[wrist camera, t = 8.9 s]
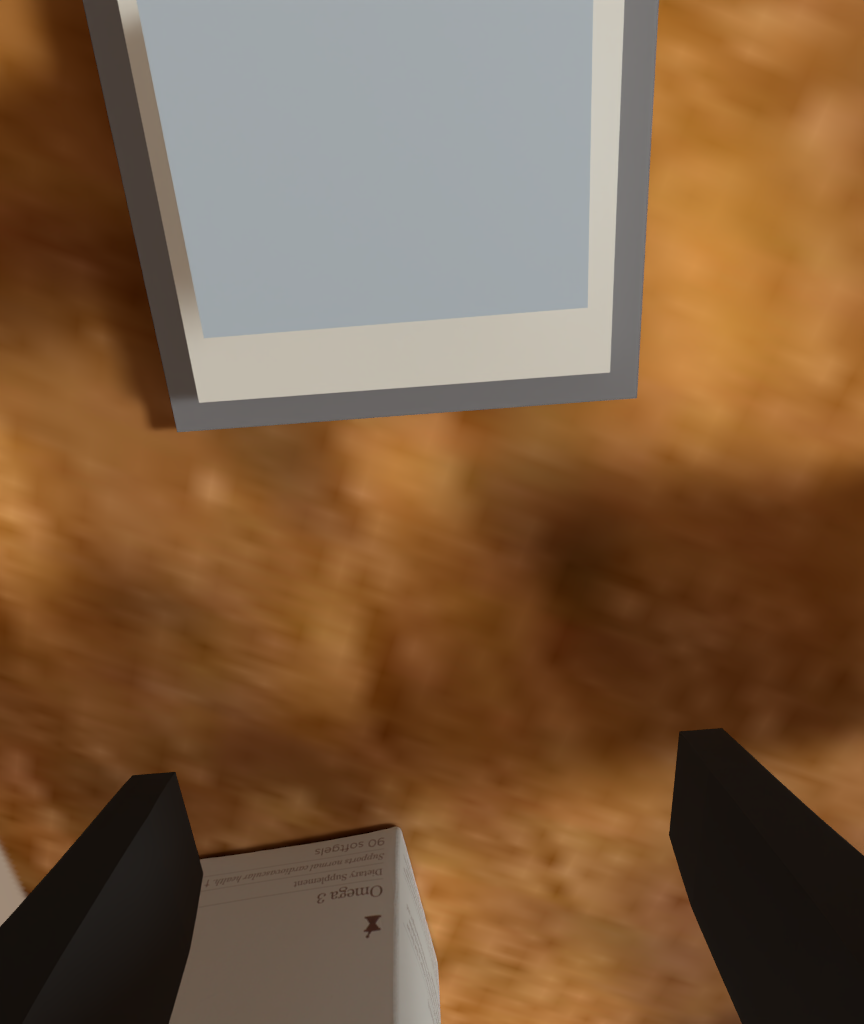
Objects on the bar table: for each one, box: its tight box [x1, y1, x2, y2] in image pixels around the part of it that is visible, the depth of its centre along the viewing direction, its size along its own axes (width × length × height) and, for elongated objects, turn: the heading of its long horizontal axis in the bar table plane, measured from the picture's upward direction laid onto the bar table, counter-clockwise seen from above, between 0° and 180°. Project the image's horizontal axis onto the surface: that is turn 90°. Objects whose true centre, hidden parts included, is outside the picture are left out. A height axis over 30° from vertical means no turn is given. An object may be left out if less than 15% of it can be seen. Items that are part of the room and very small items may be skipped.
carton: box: [136, 0, 593, 338], centre depth 10 cm, size 4×4×8 cm
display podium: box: [83, 0, 659, 432], centre depth 15 cm, size 12×11×2 cm
